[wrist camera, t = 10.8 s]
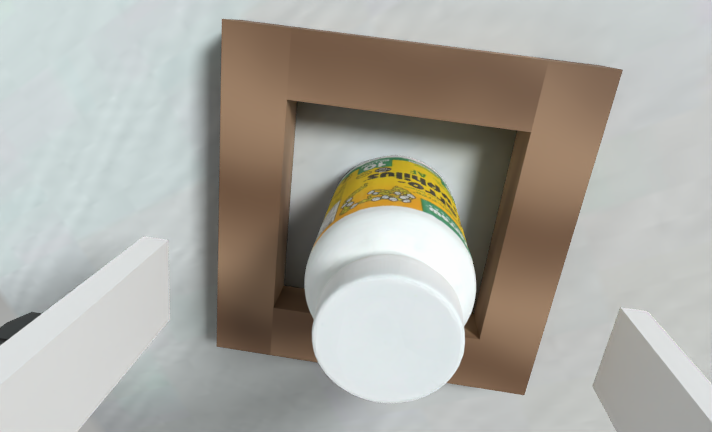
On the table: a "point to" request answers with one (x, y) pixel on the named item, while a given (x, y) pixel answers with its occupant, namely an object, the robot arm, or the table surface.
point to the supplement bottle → (390, 282)
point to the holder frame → (418, 99)
